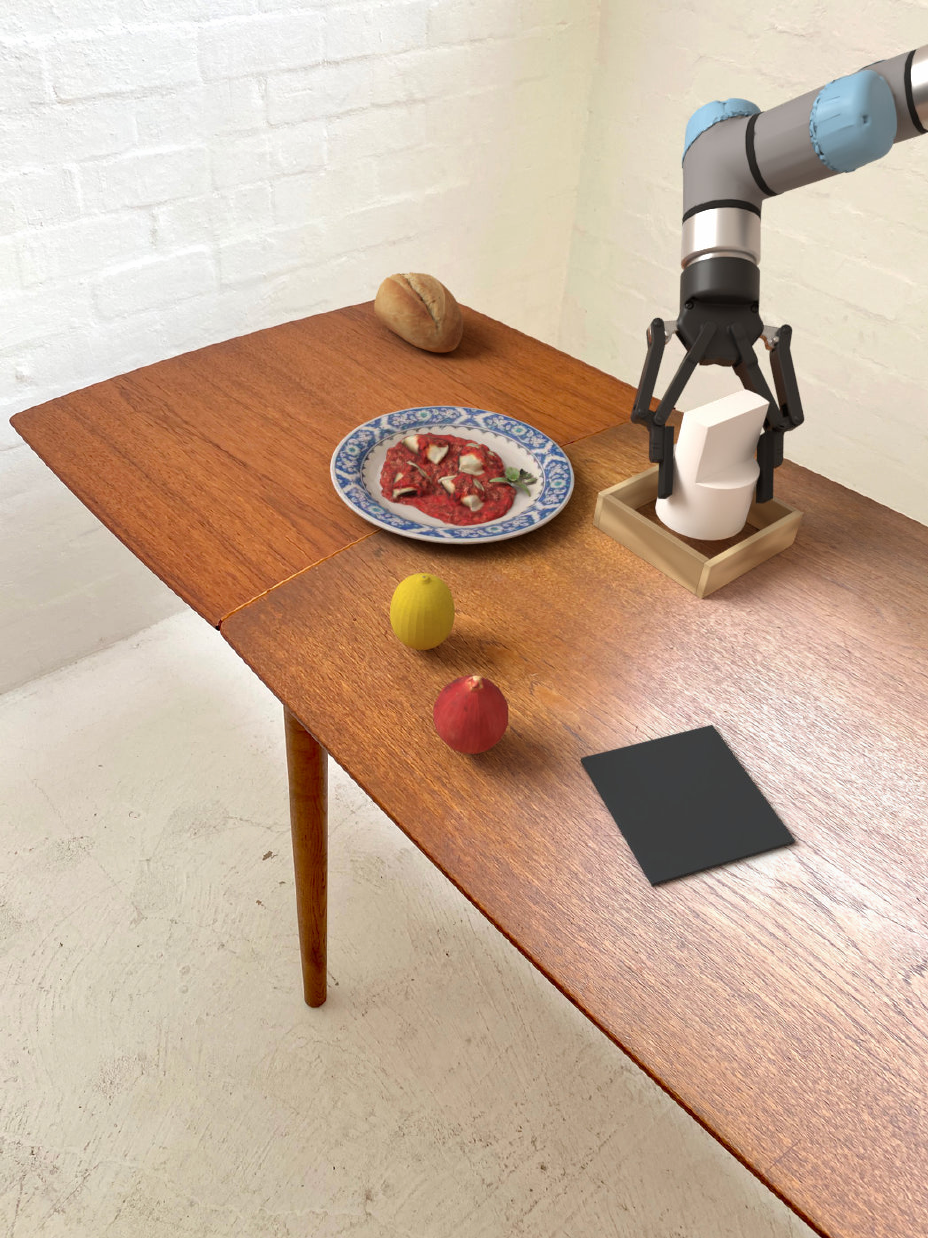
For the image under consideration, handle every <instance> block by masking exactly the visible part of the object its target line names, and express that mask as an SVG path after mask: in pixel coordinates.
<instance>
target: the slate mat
mask: <svg viewBox="0 0 928 1238" xmlns="http://www.w3.org/2000/svg"><path fill="white" fill-rule="evenodd" d="M580 763H581V765H582V766H583V768H584V770H585V771H586V773H587V775H588V777H589V779H590V780H591V782H592V784H593V785H594V787H595V790H596V791H597V792H598V794H599V796H600V797H601V800H602V802H603V803H604V805H605V807H606V808H607V810H608V812H609V814H610V816H611V817H612V819H613V821H614V823H615V825H616V826H617V828H618V829H619V832H620V833H621V835H622V836H623V839H624V840H625V842H626V844H627V846H628V847H629V849H630V851H631V852H632V854H633V856H634V858H635V859H636V861H637V863H638V865H639V867H640V868H641V870H642V872H643V874H644V876H645V877H646V879H647V881H648V882H649V884H650V886H651V887H655V886H659V885H661V884H665V883H668V882H672V881H675V880H678V879H681V878H684V877H688V876H691V875H695V874H699V873H701V872H704V871H709V870H711V869H714V868H718V867H721V866H724V865H728V864H732V863H734V862H737V861H741V860H744V859H748V858H751V857H754V856H757V855H762V854H764V853H767V852H771V851H775V850H778V849H781V848H784V847H787V846H790V845H794V844H795V843H796V839H795V838H794V836H793V835H792V834H791V832H790V831H789V829H788V827H786V826H785V823H784V822H783V821H782V820H781V818H780V817H779V816H778V814H777V813H776V811H775V810H774V808H773V807H772V806H771V804H770V803H769V801H768V800H767V799H766V798H765V796H764V795H763V793H762V792H761V790H760V789H759V787H758V786H757V785H756V783H755V782H754V781H753V779H752V777H751V776H750V775H749V774H748V772H747V771H746V769H745V768H744V767H743V765H742V764H741V763H740V761H739V759H738V758H737V757H736V756H735V754H734V753H733V751H732V750H731V748H730V747H729V746H728V744H727V743H726V741H725V740H724V739H723V737H722V736H721V735H720V733H719V732H718V731H717V729H716V728H715V726H714V725H713V724H709V725H705V726H702V727H701V726H700V727H698V728H694V729H689V730H685V731H682V732H681V731H680V732H678V733H673V734H670V735H666V736H662V737H658V738H654V739H650V740H647V741H641V742H639V743H635V744H631V745H626V746H622V747H618V748H615V749H611V750H607V751H602V752H598V753H594V754H591V755H587V756H583V757H580Z"/></svg>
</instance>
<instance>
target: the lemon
mask: <svg viewBox="0 0 928 1238" xmlns="http://www.w3.org/2000/svg"><path fill="white" fill-rule="evenodd" d="M452 593H453V592H452V591H451V590H450V587H449V586H448V585H447V583H446V582H445V581H444V580H443V579H442V578H440V577H438V576H437V575H434V574H432V573H428V572H418V573H414V574H411V575H408V576H407V577H405V578H404V579H402V581H400V583H399V584H398V585H397V586H396V588H395V590H394V592H393V595H392V597H391V601H390V607H389V620H390V624H391V628H392V631H393V633H394V635H395V637H396V638H397V639H398V640H399V641H400V642H401V643H402V644H403V645H405V647H408V648H410V649H414V650H418V651H427V650H431V649H434V648H437V647H438V646H440V645H441V644H442V643H443V642H444V641H446V640H447V638H448V637H449V635H450V633H451V631H452V629H453V627H454V622H455V615H456V607H455V602H454V597H453V594H452Z"/></svg>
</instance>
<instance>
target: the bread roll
mask: <svg viewBox="0 0 928 1238" xmlns="http://www.w3.org/2000/svg"><path fill="white" fill-rule="evenodd" d="M373 311H374V313H375V316H376V317H377V320H378V321H379V322H380V323H381V324H382V325H383V326H384V327H386V328H387V329H388V330H390V331H391V332H393V333H394V334H396V335H397V336H399V337H400V338H402V339H403V340H404V341H406V342H407V343H409V344H411V345H413V346H414V347H417V348H420V349H422V350H425V351H429V352H433V353H447V352H452V351H454V350H456V349H457V348H458V346H459V344H460V341H461V339H462V337H463V332H464V318H463V314H462V311H461V308H460V306H459V303H458V301H457V299H456V297H455V295H453V293H452V292H451V291H450V290H449V289H448V288H447V287H446V286H445V285H444V284H443V283H442V282H441V281H440V280H438V279H437V278H435V277H434V276H433V275H431V274H429V273H421V272H408V273H407V272H406V273H395V274H391V275H390V276H387V277H385V279H384V280H383V281H382V282H381V284H380V285H379V287H378V289H377V292H376V296H375V299H374V303H373Z"/></svg>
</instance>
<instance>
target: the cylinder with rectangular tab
mask: <svg viewBox="0 0 928 1238" xmlns="http://www.w3.org/2000/svg"><path fill="white" fill-rule="evenodd" d="M768 406H769V402H768V401H767V400H766V399H764V398H763V397H761V396H760V395H758V394H755V393H753V392H751V391H749V390H746V389H741V390H740V391H737V392H735V393H732V394H729V395H727V396H724V397H721V398H719V399H716V400H714V401H712V402H709V403H706V404H703V405H701V406H698V407H696V408H693V409H691V410H688V411H685V412H683V416H682V421H681V426H680V430H679V434H678V437H677V442H676V443H674V453H673V492H672V495H671V496H669V497H668V498H667V499H658V498H657V499H656V503H655V513H656V515H657V517H658V518H659V520H660V521H661V522H662V523H663V524H664V525H665V526H666V527H667V528H668V529H670V530H672V531H674V532H676V533H678V534H680V535H682V536H684V537H685V536H686V537H688V538H691V539H697V540H701V541H718V540H726V539H728V538H731V537H732V538H733V537H734V536H736V535H737V534H738V533H740V532H742V530H743V528H744V526H745V524H746V518H747V514H748V511H749V508H750V504H751V501H752V498H753V494H754V491H755V488H756V484H757V481H758V478H759V473H760V468H759V465H758V463H757V458H755V454H756V452H757V444H758V441H759V437H760V435H761V434H762V430H763V423H764V420H765V416H766V413H767V410H768Z"/></svg>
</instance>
